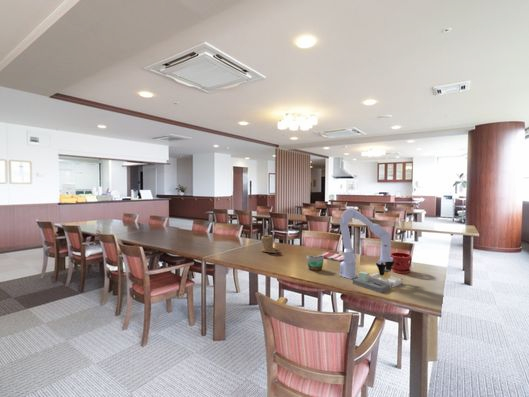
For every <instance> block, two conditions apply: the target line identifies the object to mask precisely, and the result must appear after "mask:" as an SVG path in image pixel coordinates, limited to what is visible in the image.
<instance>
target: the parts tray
mask: <svg viewBox="0 0 529 397" xmlns="http://www.w3.org/2000/svg"><path fill="white" fill-rule="evenodd" d="M369 279H371V280H375V281H378V282H381V283H385V284H388V285H389V288H395V287H397V286H400V285H402V284H403V278H399V277H395V276H392V275H390V278H389V280H388V282H387V281H384V280H381V277H380V273H379V272H377V273H374V274H369Z"/></svg>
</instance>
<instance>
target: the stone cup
mask: <svg viewBox="0 0 529 397" xmlns="http://www.w3.org/2000/svg"><path fill="white" fill-rule="evenodd" d="M261 243H262V246H263V248H262V249H261V252H265V253H271V254H277V253H279V252H281V249H279V248H275V247H274V246H273V245H274V235H272V234H269V235H268V234H266V235H262V236H261Z"/></svg>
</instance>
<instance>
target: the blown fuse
mask: <svg viewBox="0 0 529 397" xmlns="http://www.w3.org/2000/svg"><path fill="white" fill-rule="evenodd" d="M390 276H391V272H390V270H387V269H386V268H385V271H384V275H383V276H382V275H380V277H381V280H384V281H387V282H388V280H389V278H390Z"/></svg>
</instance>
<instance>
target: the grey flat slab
mask: <svg viewBox="0 0 529 397" xmlns="http://www.w3.org/2000/svg"><path fill="white" fill-rule="evenodd" d="M352 285H356V286H359V287H361V288H364V289H368V290H370V291H374V292H376V293H379V294H382V293H384V292H386V291H387V292H388V291H389V290H390V287H389V285H388V284H385V283H381V282H378V281H375V280H371V279H369V281H367V282H365V281H362V280H359V277H356V278H353V279H352Z"/></svg>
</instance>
